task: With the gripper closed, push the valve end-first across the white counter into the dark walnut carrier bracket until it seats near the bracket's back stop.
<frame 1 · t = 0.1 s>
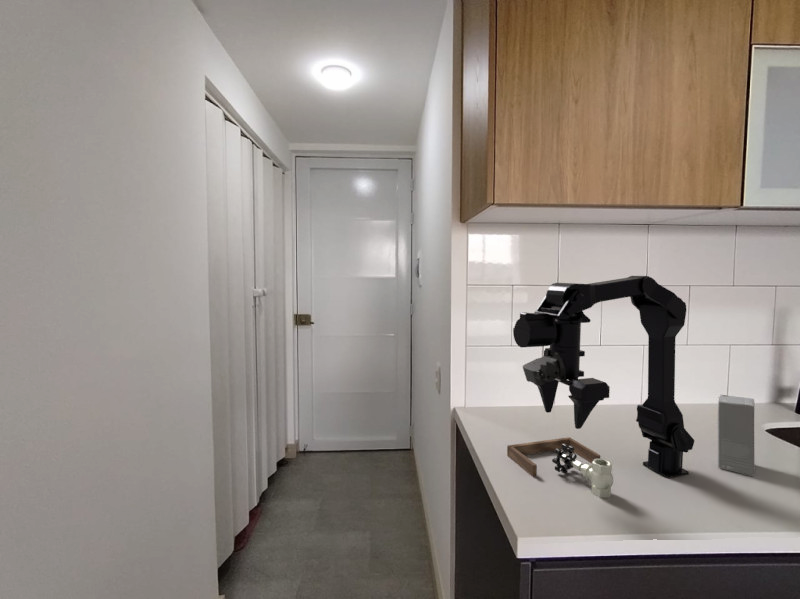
hand: (562, 419, 82), 15 cm above the worktop, tool pointing down, fingers open, 9 cm apart
valve: (584, 485, 85), on the worktop
carrier bracket: (554, 461, 94), on the worktop
skincare box: (733, 466, 93), on the worktop
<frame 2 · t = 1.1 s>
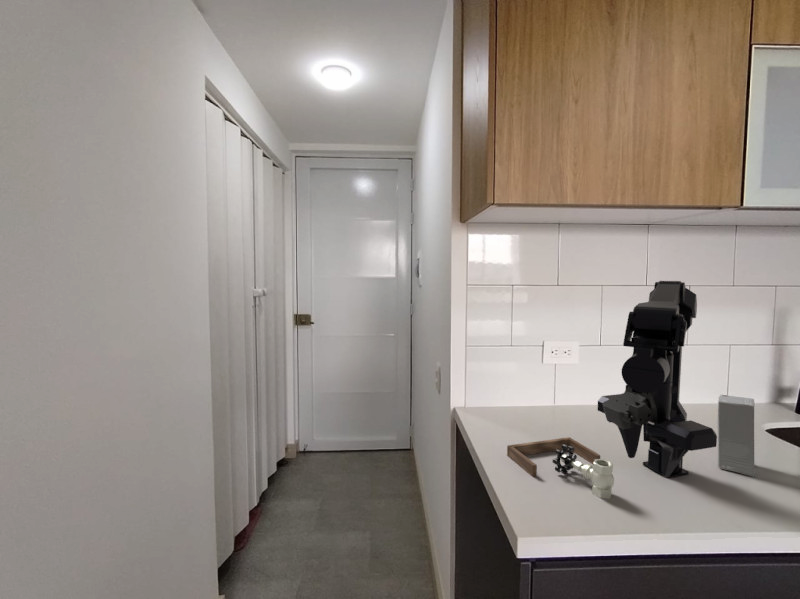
hand: (647, 466, 70), 11 cm above the worktop, tool pointing down, fingers open, 7 cm apart
nothing on the worktop moved.
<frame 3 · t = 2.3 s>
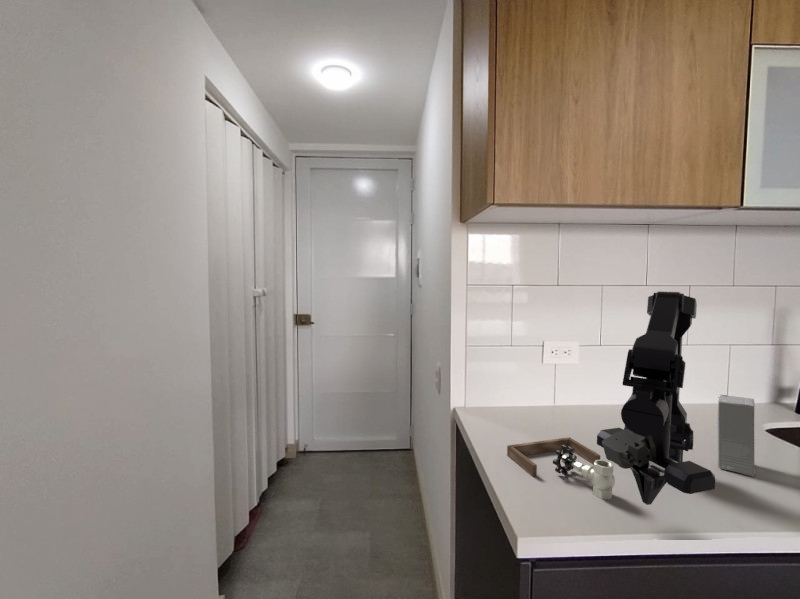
hand: (647, 503, 70), 4 cm above the worktop, tool pointing down, fingers closed
nothing on the worktop moved.
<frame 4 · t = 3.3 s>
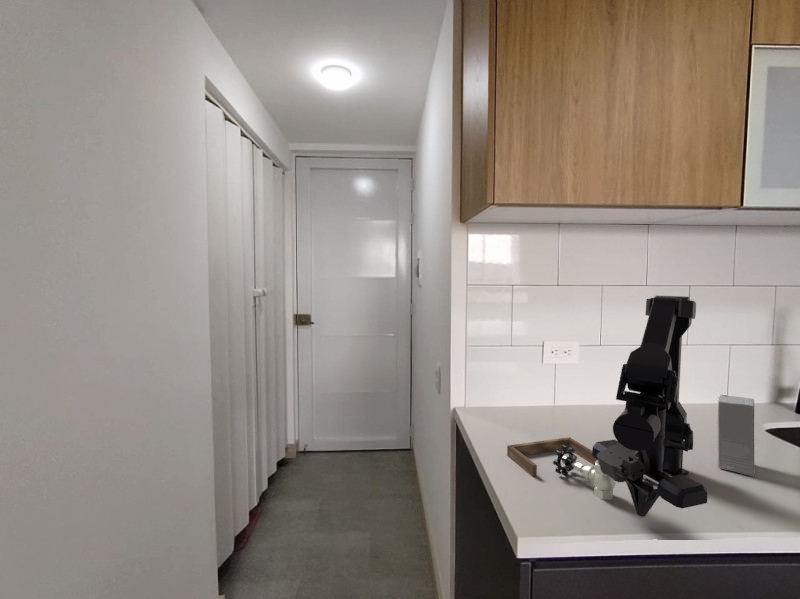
hand: (641, 515, 71), 1 cm above the worktop, tool pointing down, fingers closed
nothing on the worktop moved.
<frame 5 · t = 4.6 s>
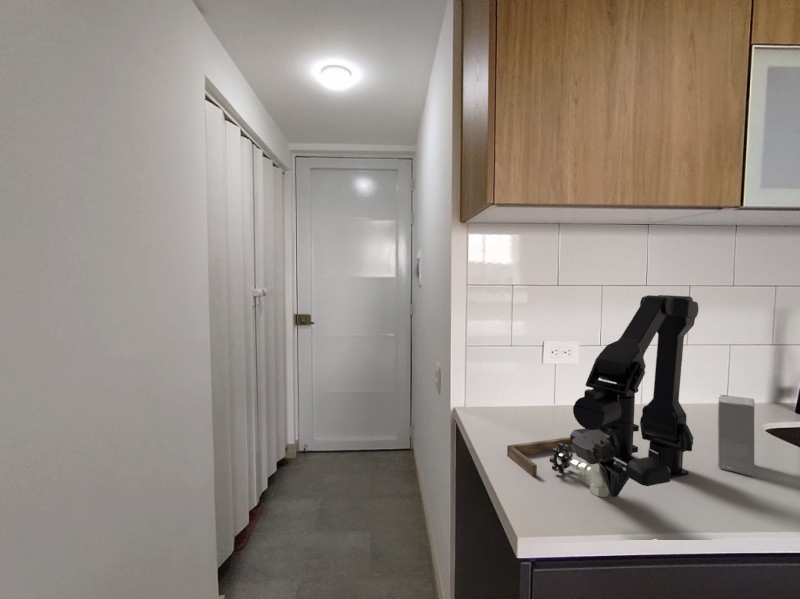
hand: (613, 496, 77), 2 cm above the worktop, tool pointing down, fingers closed
valve: (582, 484, 85), on the worktop, touching gripper
everything else where it was.
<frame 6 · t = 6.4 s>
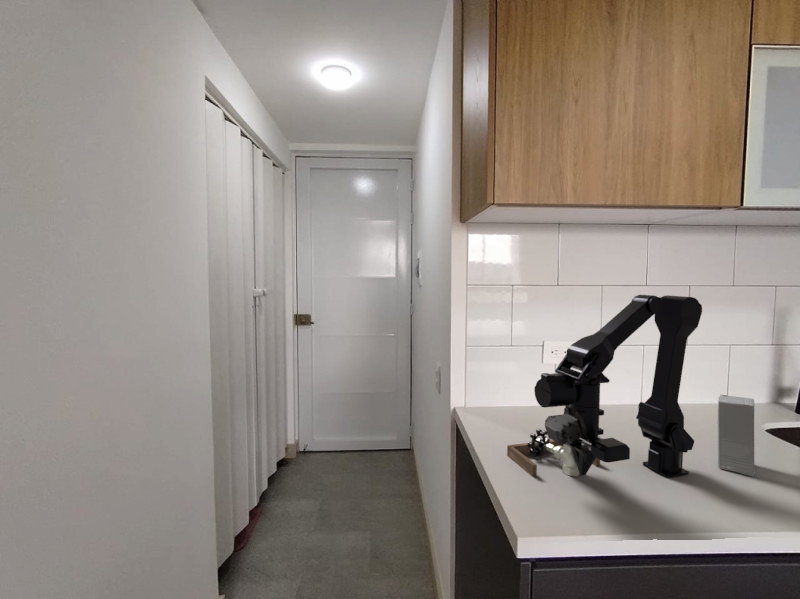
hand: (582, 475, 85), 2 cm above the worktop, tool pointing down, fingers closed
valve: (556, 465, 93), on the worktop, touching carrier bracket, gripper
everything else where it was.
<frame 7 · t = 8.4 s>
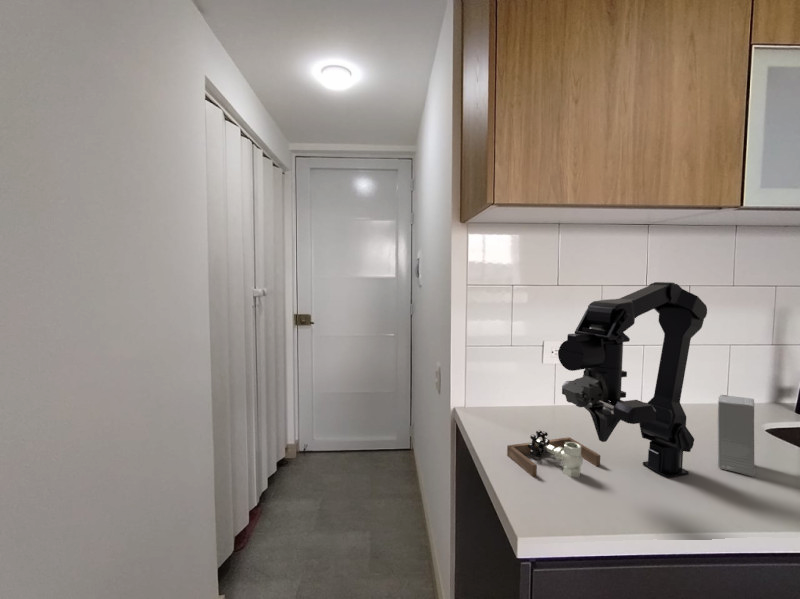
hand: (602, 441, 80), 11 cm above the worktop, tool pointing down, fingers closed
valve: (557, 467, 93), on the worktop
everything else where it was.
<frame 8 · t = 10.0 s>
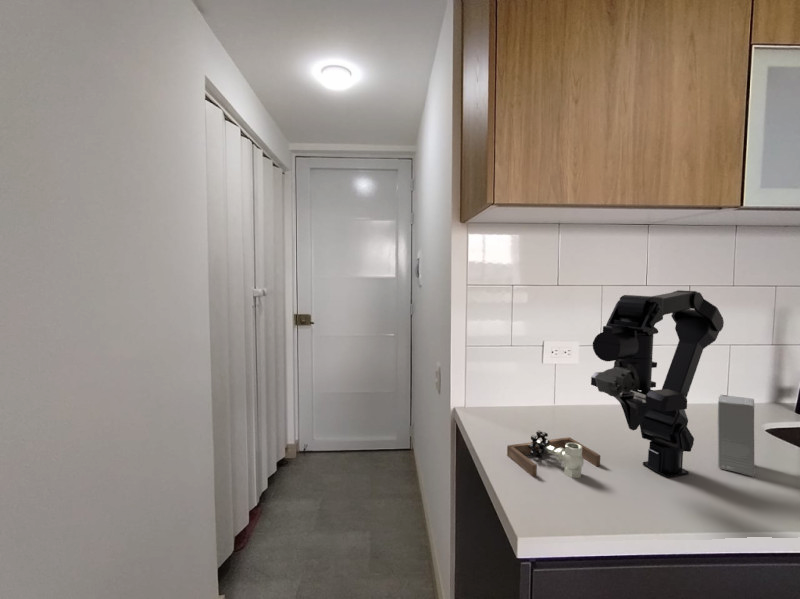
hand: (632, 429, 84), 12 cm above the worktop, tool pointing down, fingers closed
nothing on the worktop moved.
at the end: valve inside the target area on the carrier bracket (2.4 cm from its centre), point 0.0 cm above the carrier bracket's base; valve tilted 0°; the gripper is holding nothing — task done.
